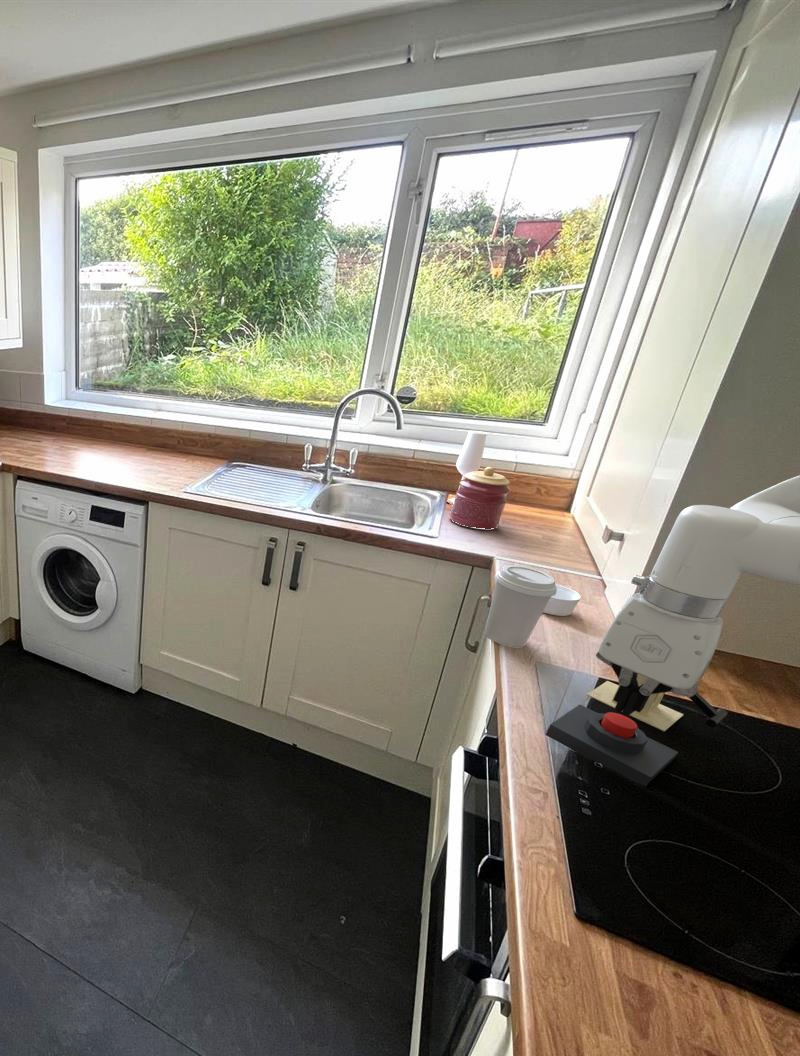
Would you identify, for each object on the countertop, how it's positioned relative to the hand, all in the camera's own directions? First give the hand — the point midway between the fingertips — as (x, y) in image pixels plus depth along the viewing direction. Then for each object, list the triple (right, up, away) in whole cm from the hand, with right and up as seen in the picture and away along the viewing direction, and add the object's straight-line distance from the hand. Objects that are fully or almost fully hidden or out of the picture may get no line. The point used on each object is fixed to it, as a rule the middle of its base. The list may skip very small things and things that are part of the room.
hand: (625, 709), depth 84 cm
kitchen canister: (+41, +29, +93) cm, 105 cm away
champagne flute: (+47, +37, +110) cm, 125 cm away
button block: (0, -7, +3) cm, 7 cm away
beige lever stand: (+12, -3, +11) cm, 17 cm away
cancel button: (0, -3, +1) cm, 4 cm away
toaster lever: (+14, +1, +6) cm, 15 cm away
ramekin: (+24, +9, +44) cm, 51 cm away
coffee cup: (+4, +4, +30) cm, 30 cm away
